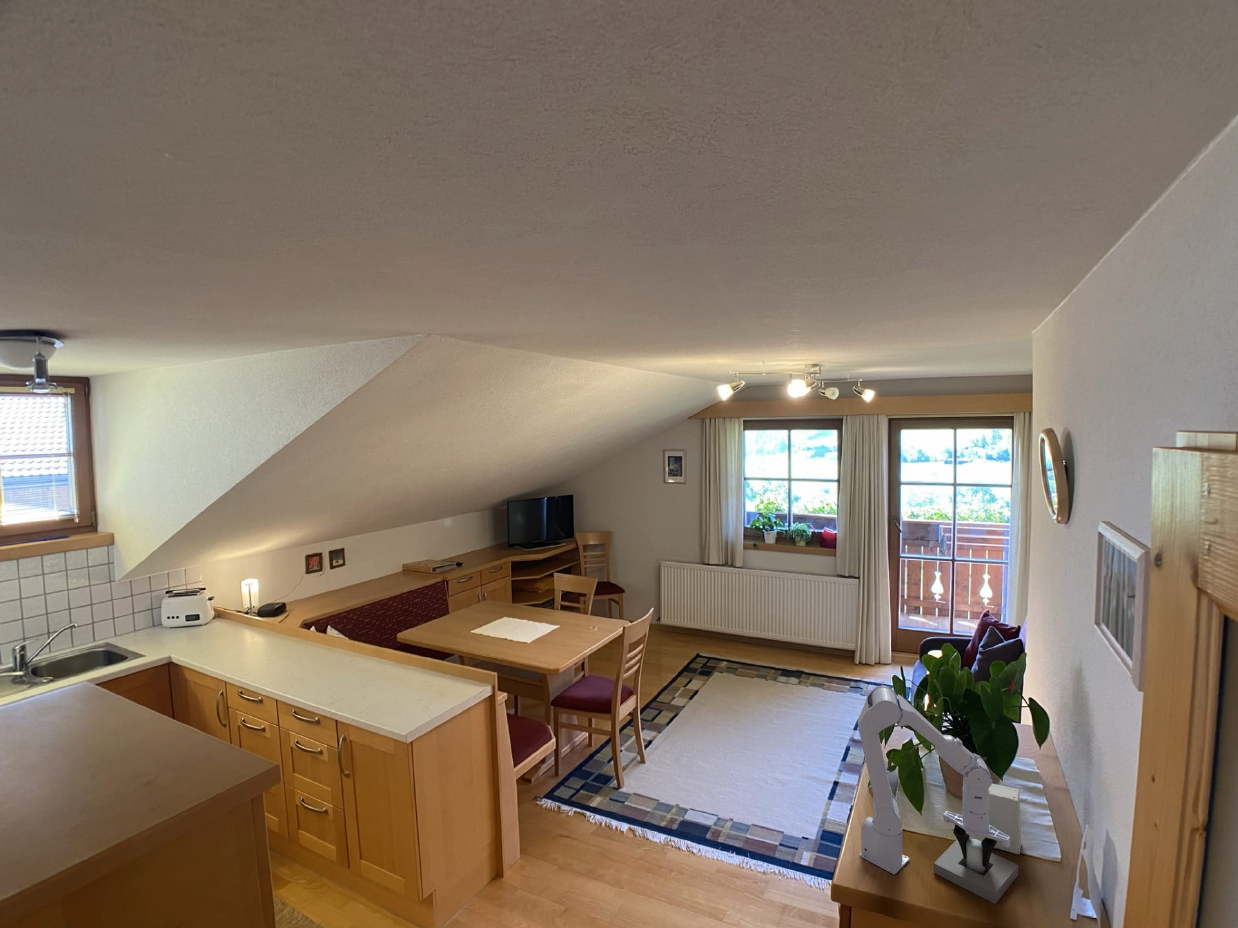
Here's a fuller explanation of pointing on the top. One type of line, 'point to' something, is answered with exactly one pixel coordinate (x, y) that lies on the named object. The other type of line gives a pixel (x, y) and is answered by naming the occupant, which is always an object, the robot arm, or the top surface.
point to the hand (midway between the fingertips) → (975, 860)
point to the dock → (983, 886)
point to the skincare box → (1006, 815)
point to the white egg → (974, 855)
